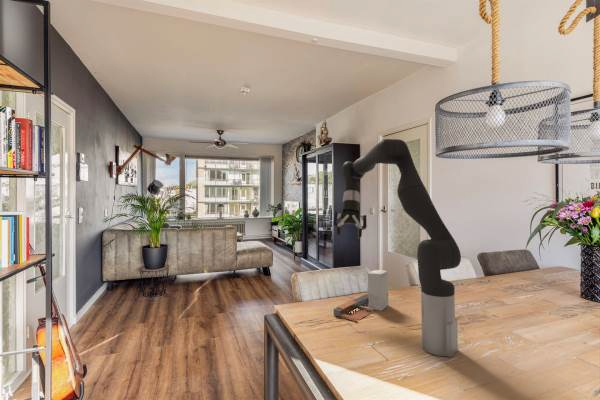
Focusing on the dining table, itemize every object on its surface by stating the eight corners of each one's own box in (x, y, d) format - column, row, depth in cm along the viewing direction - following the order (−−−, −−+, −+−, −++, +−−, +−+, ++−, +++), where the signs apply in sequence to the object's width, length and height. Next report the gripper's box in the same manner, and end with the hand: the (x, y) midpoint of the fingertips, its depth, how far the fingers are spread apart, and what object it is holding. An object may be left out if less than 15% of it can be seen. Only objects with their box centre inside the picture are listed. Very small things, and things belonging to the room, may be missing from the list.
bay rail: (367, 299, 141) (366, 292, 141) (387, 304, 134) (387, 297, 134) (333, 315, 122) (333, 308, 122) (355, 322, 115) (355, 314, 115)
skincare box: (381, 311, 125) (381, 274, 125) (367, 308, 129) (367, 272, 129) (389, 305, 132) (388, 270, 132) (375, 302, 136) (374, 268, 136)
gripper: (335, 197, 138) (332, 232, 132) (368, 200, 136) (366, 236, 130) (334, 204, 145) (332, 237, 139) (366, 206, 143) (364, 241, 137)
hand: (348, 237), depth 134 cm, fingers open, 8 cm apart
